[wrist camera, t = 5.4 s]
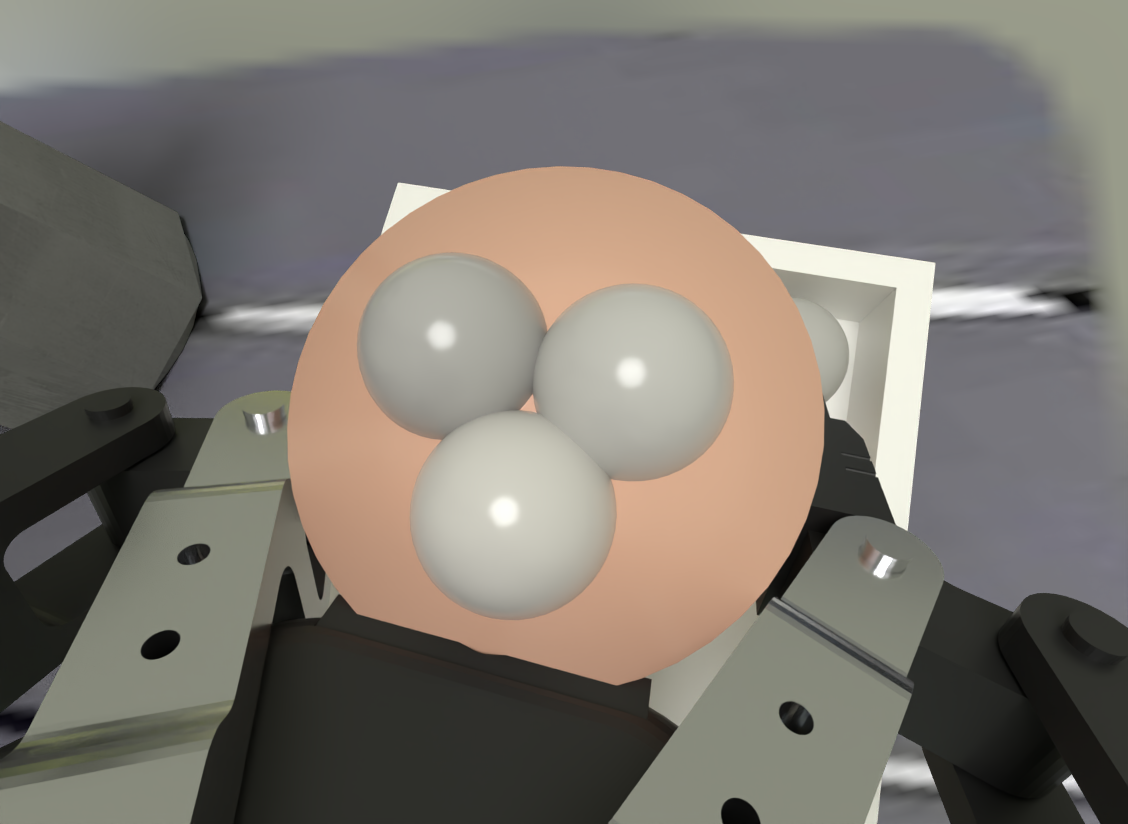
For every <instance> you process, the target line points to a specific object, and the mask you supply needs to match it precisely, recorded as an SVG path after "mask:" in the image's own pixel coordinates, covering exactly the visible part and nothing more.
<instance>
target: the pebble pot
mask: <svg viewBox="0 0 1128 824" xmlns="http://www.w3.org/2000/svg"><path fill="white" fill-rule="evenodd" d="M287 441H288V464H289V471H290V477H291V484H292V491H293V496H294V499H295V502H296V506H297V509H298V513H299V516H300V519H301V523H302V526H303V529H304V531H305V533H306V535H307V538H308V540H309V542H310V544H311V547H312V549H313V551H314V553H315V556H316V558H317V559H318V561H319V563H320V564H321V566H322V567H323V569H324V571H325V572H326V574H327V576H328V577H329V579H330V580H331V582H332V584H333V585H334V587H335V588H336V589H337V591H338V592H339V593H340V594H341V595H342V597H343V598H344V599H345V600H346V601H347V603H348V604H349V605H350V606H351V607H352V609H353V610H354V611H355V612H356V613H357V614H359V615H363V616H366V617H370V618H374V619H377V620H381V621H385V622H388V623H392V624H395V625H399V626H403V627H406V628H410V629H414V630H417V631H421V632H424V633H428V634H432V635H435V636H439V637H443V638H446V639H450V640H453V641H457V642H460V643H462V644H464V645H465V646H467V647H469V648H470V649H472V650H474V651H476V652H479V653H482V654H489V655H508V656H511V657H515V658H519V659H522V660H526V661H529V662H533V663H537V664H540V665H544V666H548V667H551V668H555V669H558V670H562V671H566V672H569V673H573V674H577V675H580V676H584V677H587V678H591V679H595V680H598V681H602V682H606V683H609V684H613V685H616V686H617V685H620V684H624V683H627V682H631V681H635V680H638V679H642V678H644V677H646V676H648V675H651V674H653V673H655V672H658V671H660V670H662V669H664V668H667V667H669V666H671V665H673V664H676V663H678V662H680V661H681V660H683V659H684V658H686V657H688V656H689V655H691V654H692V653H694V652H696V651H697V650H699V649H700V648H702V647H704V646H705V645H707V644H708V643H710V642H712V641H713V640H714V639H715V638H716V637H718V636H719V635H720V634H721V633H722V632H724V631H725V630H726V629H727V628H728V627H729V626H731V625H732V624H733V623H734V622H735V621H737V620H738V619H739V618H740V617H741V616H742V615H743V614H744V613H745V612H746V611H747V610H748V609H749V608H750V606H751V605H752V604H753V603H754V602H755V601H756V600H757V599H758V598H759V596H760V595H761V594H762V593H763V592H764V591H765V590H766V589H767V587H768V586H769V585H770V583H771V582H772V580H773V579H774V577H775V576H776V574H777V573H778V571H779V570H780V568H781V567H782V565H783V564H784V562H785V561H786V559H787V558H788V556H789V555H790V553H791V551H792V549H793V547H794V544H795V542H796V540H797V538H798V536H799V534H800V532H801V530H802V528H803V526H804V523H805V521H806V519H807V516H808V513H809V510H810V507H811V503H812V500H813V497H814V494H815V490H816V487H817V484H818V479H819V473H820V467H821V460H822V454H823V448H824V402H823V393H822V385H821V377H820V372H819V368H818V364H817V360H816V356H815V353H814V349H813V345H812V341H811V339H810V336H809V334H808V331H807V329H806V327H805V324H804V322H803V319H802V317H801V315H800V312H799V310H798V308H797V306H796V304H795V303H794V301H793V299H792V298H791V296H790V294H789V292H788V291H787V289H786V287H785V286H784V284H783V282H782V281H781V279H780V278H779V276H778V275H777V274H776V273H775V271H774V270H773V269H772V267H771V266H770V265H769V264H768V262H767V261H766V260H765V259H764V257H763V256H762V255H761V253H760V252H759V251H758V250H757V249H756V248H755V247H754V246H753V245H752V244H751V243H750V242H749V241H747V240H746V239H745V238H744V237H743V236H742V235H741V234H740V233H739V232H738V231H737V230H736V229H735V228H734V227H732V226H731V225H730V224H728V223H727V222H726V221H724V220H723V219H722V218H720V217H719V216H718V215H716V214H715V213H714V212H712V211H711V210H710V209H708V208H706V207H704V206H703V205H701V204H699V203H697V202H696V201H694V200H692V199H690V198H689V197H687V196H685V195H683V194H682V193H679V192H677V191H674V190H672V189H670V188H667V187H665V186H662V185H660V184H658V183H655V182H653V181H650V180H646V179H643V178H639V177H635V176H632V175H628V174H625V173H621V172H615V171H608V170H602V169H596V168H587V167H561V166H557V167H544V168H531V169H524V170H518V171H513V172H508V173H503V174H498V175H494V176H491V177H487V178H484V179H481V180H478V181H475V182H471V183H468V184H465V185H463V186H461V187H459V188H456V189H454V190H452V191H450V192H447V193H445V194H443V195H441V196H438V197H436V198H435V199H433V200H431V201H430V202H428V203H426V204H424V205H423V206H421V207H419V208H417V209H416V210H414V211H412V212H411V213H409V214H408V215H407V216H405V217H404V218H403V219H401V220H400V221H398V222H397V223H396V224H394V225H393V226H392V227H390V228H389V229H388V230H386V231H385V232H384V233H383V234H382V235H381V236H380V237H379V238H378V239H377V240H375V241H374V242H373V243H372V244H371V245H370V246H369V247H368V248H367V249H366V250H365V251H364V252H363V253H362V254H361V255H360V256H359V257H358V258H357V260H356V261H355V262H354V263H353V264H352V266H351V267H350V268H349V269H348V270H347V271H346V273H345V274H344V275H343V276H342V277H341V279H340V280H339V282H338V283H337V285H336V286H335V288H334V289H333V291H332V292H331V294H330V295H329V297H328V298H327V300H326V301H325V303H324V304H323V306H322V308H321V310H320V312H319V314H318V316H317V318H316V320H315V322H314V324H313V326H312V328H311V330H310V332H309V334H308V337H307V340H306V343H305V345H304V348H303V351H302V354H301V356H300V359H299V362H298V365H297V370H296V374H295V378H294V382H293V387H292V391H291V396H290V406H289V415H288V424H287Z"/></svg>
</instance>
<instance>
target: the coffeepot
mask: <svg viewBox="0 0 1128 824" xmlns="http://www.w3.org/2000/svg"><path fill="white" fill-rule="evenodd" d="M201 299H202V294H201V286H200V278H199V272H198V266H197V260H196V257H195V255H194V252H193V250H192V247H191V245H190V243H189V240H188V239H187V237H186V236H185V234H184V232H183V228H182V225H181V221H180V218H179V214H178V212H176V211H174V210H172V209H170V208H168V207H166V206H164V205H162V204H160V203H158V202H156V201H154V200H152V199H150V198H148V197H146V196H145V195H143V194H141V193H139V192H137V191H135V190H133V189H131V188H129V187H127V186H125V185H123V184H121V183H119V182H117V181H115V180H113V179H112V178H110V177H108V176H106V175H104V174H102V173H100V172H98V171H96V170H94V169H92V168H90V167H88V166H86V165H84V164H82V163H80V162H78V161H77V160H75V159H73V158H71V157H69V156H67V155H65V154H63V153H61V152H59V151H57V150H55V149H53V148H51V147H49V146H47V145H45V144H43V143H42V142H40V141H38V140H36V139H34V138H32V137H30V136H28V135H26V134H24V133H22V132H20V131H18V130H16V129H14V128H12V127H10V126H9V125H7V124H5V123H3V122H1V121H0V425H2V426H5V427H7V428H10V429H14V428H16V427H18V426H20V425H22V424H25V423H27V422H29V421H31V420H33V419H35V418H38V417H40V416H42V415H44V414H46V413H49V412H51V411H53V410H55V409H57V408H59V407H62V406H64V405H66V404H68V403H70V402H72V401H75V400H77V399H79V398H82V397H84V396H87V395H90V394H93V393H96V392H100V391H104V390H109V389H115V388H124V387H142V388H149V389H153V390H154V389H155V387H156V386H157V385H158V384H159V382H160V381H161V380H162V379H163V378H164V376H165V375H166V374H167V373H168V371H169V370H170V368H171V367H172V365H173V364H174V362H175V361H176V359H177V358H178V356H179V355H180V353H181V352H182V350H183V348H184V346H185V344H186V341H187V339H188V337H189V334H190V332H191V330H192V328H193V325H194V321H195V316H196V312H197V308H198V305H199V303H200V301H201Z"/></svg>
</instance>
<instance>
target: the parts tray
mask: <svg viewBox="0 0 1128 824" xmlns="http://www.w3.org/2000/svg"><path fill="white" fill-rule="evenodd" d="M450 191H451V190H444V189H437V188H431V187H424V186H417V185H411V184H404V183H398V185H397V188H396V191H395V194H394V197H393V200H392V203H391V206H390V209H389V212H388V215H387V218H386V221H385V224H384V227H383V231H382V234H383V233H384V232H385V231H386V230H388V229H389V228H390V227H392V226H393V225H394V224H396V223H397V222H398V221H400V220H401V219H403V218H404V217H405V216H407V215H408V214H409V213H411V212H412V211H414V210H416V209H417V208H419V207H421V206H423V205H424V204H426V203H428V202H430V201H431V200H433V199H435V198H436V197H438V196H441V195H443V194H445V193H447V192H450ZM382 234H381V235H382ZM741 235H742V236H743V237H744V238H745V239H746V240H747V241H749V242H750V243H751V244H752V245H753V246H754V247H755V248H756V249H757V250H758V251H759V252H760V253H761V255H762V256H763V257H764V259H765V260H766V261H767V262H768V264H769V265H770V266H771V267H772V269H773V270H774V271H775V273H776V274H777V275H778V276H779V278H780V279H781V281H782V282H783V284H784V286H785V287H786V289H787V291H788V292H789V294H790V296H791V298H792V299H793V301H794V303H795V304H796V306H797V308H798V310H799V312H800V315H801V317H802V319H803V322H804V324H805V327H806V329H807V331H808V334H809V336H810V339H811V341H812V345H813V349H814V353H815V356H816V360H817V364H818V368H819V372H820V377H821V385H822V393H823V396H824V399H825V403H826V406H827V409H828V412H829V416H830V418H834V419H839V420H844V421H846V422H847V423H848V424H849V425H850V426H851V427H852V428H853V429H854V430H855V431H856V432H857V433H858V434H859V435H860V436H861V437H862V438H863V439H864V442H865V444H866V447H867V450H868V452H869V455H870V457H871V458H870V461H872V463H873V465H874V468H875V471H876V477H878V479H879V481H880V484H881V487H882V489H883V492H884V495H885V497H886V500H887V503H888V505H889V508H890V510H891V513H892V516H893V518H894V521H895V524H896V525H897V526H899V527H901V528H903V529H905V530H906V531H907V530H908V520H909V511H910V501H911V492H912V482H913V472H914V463H915V453H916V444H917V434H918V424H919V415H920V405H921V395H922V386H923V376H924V367H925V357H926V347H927V338H928V328H929V319H930V309H931V299H932V290H933V280H934V270H935V263H932V262H926V261H919V260H912V259H905V258H899V257H892V256H885V255H879V254H872V253H865V252H859V251H852V250H845V249H839V248H832V247H825V246H819V245H812V244H805V243H798V242H792V241H785V240H778V239H772V238H765V237H758V236H752V235H745V234H741ZM338 594H340V593H339V592H338V591H337V589H336V588H335V587H334V585H333V584H332V582H331V590H330V600H329V606H330V605H331V604H332V602H333V601H334V599H335V598H336V597H337V595H338ZM340 595H341V594H340ZM758 617H759V615H757V612H756V601H755V602H754V603H753V604H752V605H751V606H750V608H749V609H748V610H747V611H746V612H745V613H744V614H743V615H742V616H741V617H740V618H739V619H738V620H737V621H735V622H734V623H733V624H732V625H731V626H729V627H728V628H727V629H726V630H725V631H724V632H722V633H721V634H720V635H719V636H718V637H716V638H715V639H714V640H713V641H712V642H710V643H708V644H707V645H705V646H704V647H702V648H700V649H699V650H697V651H696V652H694V653H692V654H691V655H689V656H688V657H686V658H684V659H683V660H681V661H680V662H678V663H676V664H673V665H671V666H669V667H667V668H664V669H662V670H660V671H658V672H655V673H653V674H651V675H648V676H646V677H645V678H649V679H652V682H651V691H650V700H649V707H650V708H652V709H654V710H655V711H657V712H659V713H660V714H662V715H664V716H665V717H666V718H668V719H669V720H671V721H672V722H673V723H675V724H676V725H678V726H680V724H681V723H682V721H683V720H684V719H685V717H686V716H687V715H688V713H689V712H690V710H691V709H692V708H693V706H694V705H695V704H696V702H697V701H698V699H699V698H700V697H701V695H702V694H703V692H704V691H705V690H706V688H707V687H708V686H709V684H710V683H711V681H712V680H713V679H714V677H715V676H716V675H717V673H718V672H719V670H720V669H721V668H722V666H723V665H724V664H725V662H726V661H727V659H728V658H729V657H730V655H731V654H732V653H733V651H734V650H735V648H736V647H737V646H738V644H739V643H740V641H741V640H742V639H743V637H744V636H745V635H746V633H747V632H748V630H749V629H750V628H751V626H752V625H753V624H754V622H755V621H756V619H757V618H758ZM881 780H882V777H881ZM881 780H880V783H879V786H878V788H877V791H876V794H875V796H874V799H873V802H872V805H871V807H870V810H869V813H868V815H867V818H866V821H865V824H877V819H878V809H879V799H880V790H881Z"/></svg>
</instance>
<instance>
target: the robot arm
mask: <svg viewBox="0 0 1128 824" xmlns="http://www.w3.org/2000/svg"><path fill="white" fill-rule="evenodd" d="M290 396H291V392H289V391H264V392H258V393H253V394H249V395H246V396H243V397H240V398H238V399H235V400H233V401H231V402H230V403H228V404H226V405H225V406H224V407H222V408H221V409H220V410H219V411H218V412H217V414H216V416H215V417H214V418H172V416H171V414H170V411H169V408H168V405H167V402H166V399H165V397H164V396H163V394H161V393H160V392H158V391H156V390H153V389H149V388H142V387H124V388H115V389H109V390H104V391H100V392H96V393H93V394H90V395H87V396H84V397H82V398H79V399H77V400H75V401H72V402H70V403H68V404H66V405H64V406H62V407H59V408H57V409H55V410H53V411H51V412H49V413H46V414H44V415H42V416H40V417H38V418H35V419H33V420H31V421H29V422H27V423H25V424H22V425H20V426H18V427H16V428H14V429H12V430H9V431H7V432H5V433H3V434H1V435H0V713H1V712H2V711H3V710H4V709H6V708H7V707H8V706H9V705H10V704H12V703H13V702H14V701H15V700H17V699H18V698H19V697H20V696H22V695H23V694H24V693H25V692H27V691H28V690H29V689H30V688H31V687H33V686H34V685H35V684H36V683H38V682H39V681H40V680H41V679H43V678H44V677H45V676H46V675H47V674H49V673H50V672H51V671H52V670H54V669H55V668H56V667H57V666H59V665H60V664H61V663H62V662H63V663H62V665H61V667H60V669H59V671H58V673H57V675H56V677H55V679H54V680H53V682H52V684H51V686H50V688H49V690H48V692H47V694H46V696H45V698H44V700H43V702H42V704H41V706H40V708H39V710H38V712H37V714H36V716H35V718H34V720H33V722H32V724H31V725H30V727H29V729H28V731H27V733H26V735H25V736H24V737H22V738H20V739H18V740H16V741H14V742H12V743H9V744H7V745H5V746H3V747H1V748H0V824H865V821H866V818H867V815H868V813H869V810H870V807H871V805H872V802H873V799H874V796H875V794H876V791H877V788H878V786H879V783H880V780H881V777H882V775H883V772H884V769H885V767H886V764H887V761H888V758H889V756H890V753H891V750H892V747H893V745H894V742H895V739H896V737H897V734H898V733H899V734H900V735H902V736H904V737H906V738H908V739H909V740H911V741H913V742H915V743H917V744H918V745H920V746H922V750H923V753H924V756H925V758H926V761H927V764H928V766H929V769H930V771H931V774H932V776H933V779H934V782H935V784H936V787H937V789H938V792H939V795H940V797H941V800H942V802H943V805H944V808H945V810H946V813H947V815H948V818H949V821H950V823H951V824H1085V823H1084V821H1083V819H1082V818H1081V816H1080V814H1079V812H1078V810H1077V809H1076V807H1075V805H1074V803H1073V801H1072V800H1071V798H1070V796H1069V794H1068V793H1067V791H1066V789H1065V787H1064V785H1063V784H1062V782H1063V781H1064V780H1066V779H1067V778H1068V777H1069V776H1070V775H1071V774H1072V775H1073V777H1074V779H1075V781H1076V782H1077V784H1078V786H1079V787H1080V789H1081V791H1082V793H1083V794H1084V796H1085V798H1086V799H1087V801H1088V803H1089V805H1090V806H1091V808H1092V810H1093V812H1094V813H1095V815H1096V817H1097V818H1098V820H1099V822H1100V824H1128V628H1127V627H1126V626H1124V625H1123V624H1121V623H1120V622H1118V621H1117V620H1115V619H1114V618H1112V617H1111V616H1109V615H1107V614H1105V613H1104V612H1102V611H1100V610H1098V609H1096V608H1094V607H1092V606H1090V605H1088V604H1086V603H1083V602H1081V601H1078V600H1075V599H1072V598H1069V597H1066V596H1062V595H1057V594H1050V593H1037V594H1033V595H1030V596H1028V597H1026V598H1025V599H1024V600H1023V601H1022V603H1021V604H1020V605H1019V606H1018V608H1017V609H1016V610H1015V611H1014V612H1011V611H1009V610H1007V609H1004V608H1002V607H1000V606H998V605H995V604H993V603H991V602H988V601H986V600H984V599H982V598H979V597H977V596H975V595H972V594H970V593H968V592H966V591H963V590H961V589H959V588H957V587H955V586H953V585H951V584H949V583H948V582H946V581H944V571H943V568H942V565H941V563H940V561H939V560H938V558H937V557H936V555H935V554H934V553H933V552H932V550H931V549H930V548H929V547H928V546H927V545H926V544H925V543H923V542H922V541H921V540H920V539H918V538H917V537H916V536H914V535H913V534H911V533H910V532H908V531H906V530H905V529H903V528H901V527H899V526H897V525H896V524H895V521H894V518H893V516H892V513H891V510H890V508H889V505H888V503H887V500H886V497H885V495H884V492H883V489H882V487H881V484H880V481H879V479H878V477H876V471H875V468H874V465H873V463H872V461H870V458H871V457H870V455H869V452H868V450H867V447H866V444H865V442H864V439H863V438H862V437H861V436H860V435H859V434H858V433H857V432H856V431H855V430H854V429H853V428H852V427H851V426H850V425H849V424H848V423H847V422H846V421H844V420H839V419H834V418H830V416H829V412H828V409H827V406H826V403H825V399H824V396H823V402H824V448H823V454H822V460H821V467H820V473H819V479H818V484H817V487H816V490H815V494H814V497H813V500H812V503H811V507H810V510H809V513H808V516H807V519H806V521H805V523H804V526H803V528H802V530H801V532H800V534H799V536H798V538H797V540H796V542H795V544H794V547H793V549H792V551H791V553H790V555H789V556H788V558H787V559H786V561H785V562H784V564H783V565H782V567H781V568H780V570H779V571H778V573H777V574H776V576H775V577H774V579H773V580H772V582H771V583H770V585H769V586H768V587H767V589H766V590H765V591H764V592H763V593H762V594H761V595H760V596H759V598H758V599H757V600H756V612H757V615H759V617H758V618H757V619H756V621H755V622H754V624H753V625H752V626H751V628H750V629H749V630H748V632H747V633H746V635H745V636H744V637H743V639H742V640H741V641H740V643H739V644H738V646H737V647H736V648H735V650H734V651H733V653H732V654H731V655H730V657H729V658H728V659H727V661H726V662H725V664H724V665H723V666H722V668H721V669H720V670H719V672H718V673H717V675H716V676H715V677H714V679H713V680H712V681H711V683H710V684H709V686H708V687H707V688H706V690H705V691H704V692H703V694H702V695H701V697H700V698H699V699H698V701H697V702H696V704H695V705H694V706H693V708H692V709H691V710H690V712H689V713H688V715H687V716H686V717H685V719H684V720H683V721H682V723H681V724H680V726H678V725H676V724H675V723H673V722H672V721H671V720H669V719H668V718H666V717H665V716H664V715H662V714H660V713H659V712H657V711H655V710H654V709H652V708H650V707H649V700H650V691H651V682H652V679H649V678H645V677H644V678H642V679H638V680H635V681H631V682H627V683H624V684H620V685H617V686H616V685H613V684H609V683H606V682H602V681H598V680H595V679H591V678H587V677H584V676H580V675H577V674H573V673H569V672H566V671H562V670H558V669H555V668H551V667H548V666H544V665H540V664H537V663H533V662H529V661H526V660H522V659H519V658H515V657H511V656H508V655H489V654H482V653H479V652H476V651H474V650H472V649H470V648H469V647H467V646H465V645H464V644H462V643H460V642H457V641H453V640H450V639H446V638H443V637H439V636H435V635H432V634H428V633H424V632H421V631H417V630H414V629H410V628H406V627H403V626H399V625H395V624H392V623H388V622H385V621H381V620H377V619H374V618H370V617H366V616H363V615H359V614H357V613H356V612H355V611H354V610H353V609H352V607H351V606H350V605H349V604H348V603H347V601H346V600H345V599H344V598H343V597H342V595H340V594H338V595H337V597H336V598H335V599H334V601H333V602H332V604H331V605H330V606H329V600H330V590H331V580H330V579H329V577H328V576H327V574H326V572H325V571H324V569H323V567H322V566H321V564H320V563H319V561H318V559H317V558H316V556H315V553H314V551H313V549H312V547H311V544H310V542H309V540H308V538H307V535H306V533H305V531H304V529H303V526H302V523H301V519H300V516H299V513H298V509H297V506H296V502H295V499H294V496H293V491H292V484H291V477H290V471H289V464H288V441H287V424H288V415H289V406H290ZM85 493H87V494H88V496H89V498H90V500H91V502H92V504H93V506H94V508H95V510H96V512H97V514H98V516H99V518H100V520H101V522H102V525H100V526H99V527H97V528H96V529H94V530H93V531H91V532H90V533H88V534H86V535H85V536H83V537H82V538H80V539H79V540H77V541H76V542H74V543H73V544H71V545H70V546H68V547H67V548H65V549H64V550H62V551H61V552H59V553H58V554H56V555H55V556H53V557H52V558H50V559H48V560H47V561H45V562H44V563H42V564H41V565H39V566H38V567H36V568H35V569H33V570H32V571H30V572H29V573H27V574H26V575H24V576H23V577H21V578H20V579H18V580H17V581H15V582H14V581H13V580H12V578H11V577H10V575H9V574H8V572H7V571H6V569H5V567H4V562H3V560H4V554H5V551H6V549H7V547H8V546H9V544H10V543H11V541H12V540H13V539H14V538H15V537H16V536H17V535H18V534H19V533H21V532H22V531H24V530H25V529H27V528H28V527H30V526H32V525H33V524H35V523H37V522H38V521H40V520H42V519H43V518H45V517H47V516H49V515H50V514H52V513H54V512H55V511H57V510H59V509H60V508H62V507H64V506H65V505H67V504H69V503H70V502H72V501H74V500H75V499H77V498H79V497H80V496H82V495H84V494H85Z"/></svg>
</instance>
